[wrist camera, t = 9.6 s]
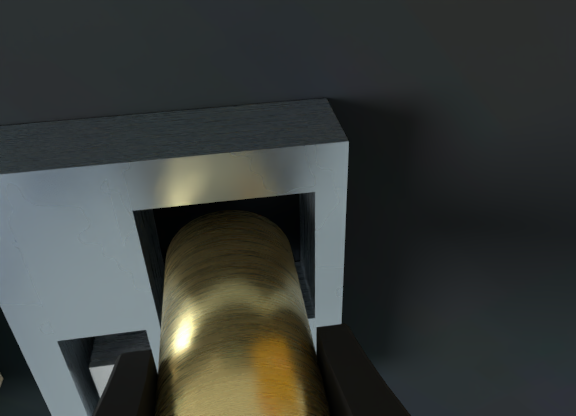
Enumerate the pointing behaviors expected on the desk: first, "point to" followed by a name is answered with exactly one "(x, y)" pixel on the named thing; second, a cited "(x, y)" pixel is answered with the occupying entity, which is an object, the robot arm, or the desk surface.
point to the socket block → (149, 220)
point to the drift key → (113, 353)
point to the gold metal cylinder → (235, 324)
